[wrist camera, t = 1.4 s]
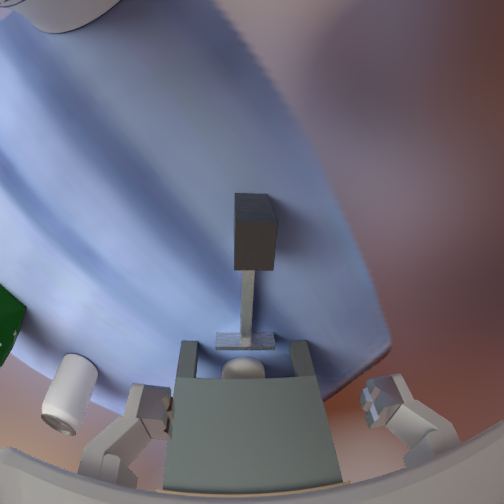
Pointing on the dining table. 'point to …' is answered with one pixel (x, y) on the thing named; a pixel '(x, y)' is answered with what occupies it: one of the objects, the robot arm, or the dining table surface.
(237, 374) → the coaster
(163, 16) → the dining table surface
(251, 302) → the block
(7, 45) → the dining table surface
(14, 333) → the milk carton
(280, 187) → the dining table surface
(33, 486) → the robot arm
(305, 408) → the cabinet
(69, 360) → the can
